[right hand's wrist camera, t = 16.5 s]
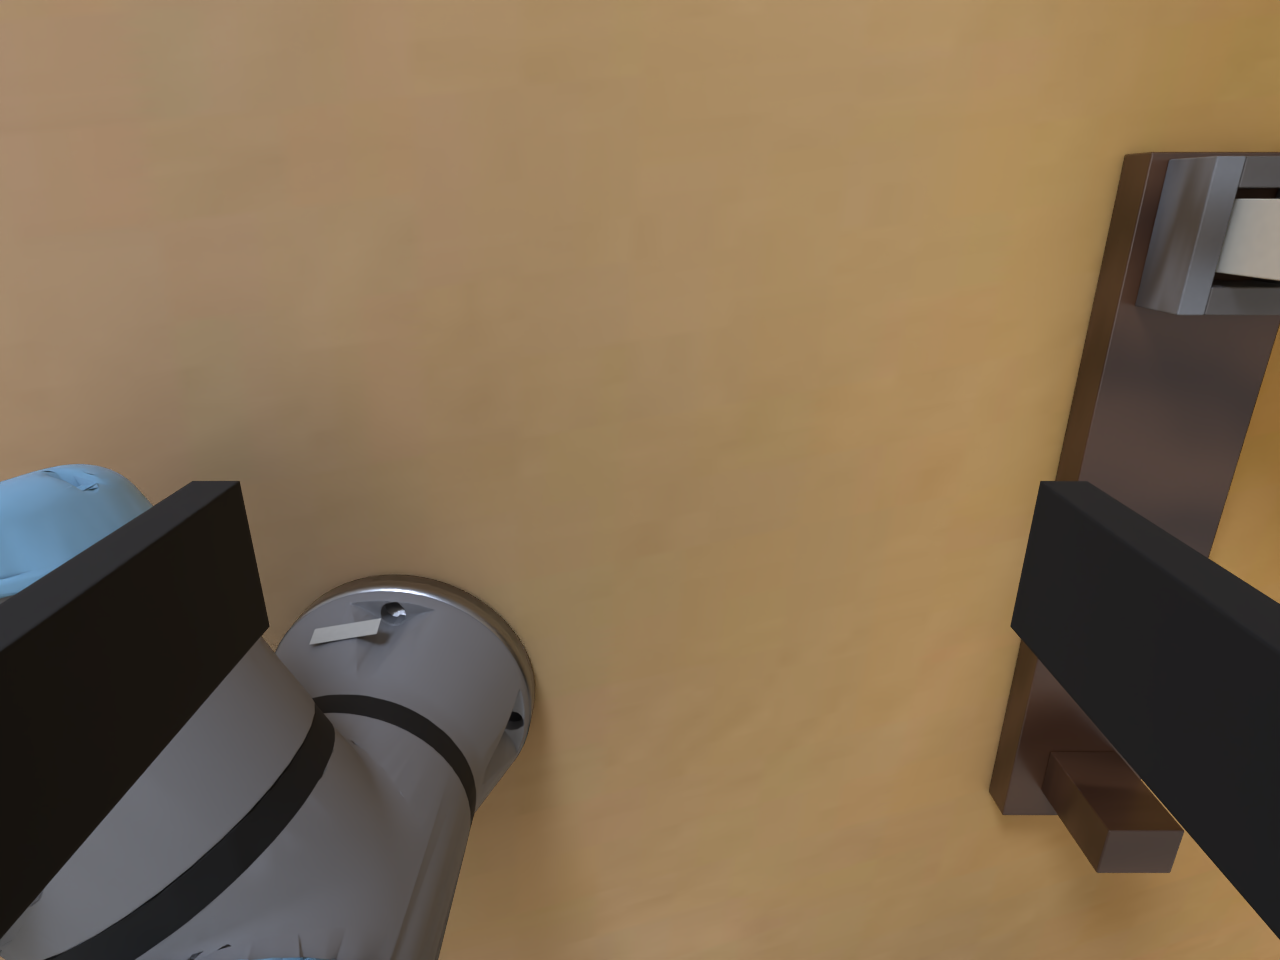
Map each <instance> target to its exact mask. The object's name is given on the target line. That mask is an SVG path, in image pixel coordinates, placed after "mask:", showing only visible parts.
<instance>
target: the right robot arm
mask: <svg viewBox="0 0 1280 960" xmlns="http://www.w3.org/2000/svg"><path fill="white" fill-rule="evenodd" d="M268 628H269V621H268V617H267V612H266V607H265V602H264V597H263V592H262V588H261V583H260V578H259V573H258V568H257V563H256V559H255V554H254V549H253V544H252V539H251V534H250V530H249V525H248V520H247V515H246V510H245V505H244V501H243V496H242V491H241V486H240V481H192V482H191V483H189V484H187V485H186V486H184V487H183V488H181V489H180V490H178V491H177V492H175V493H173V494H172V495H170V496H169V497H167V498H166V499H164V500H162V501H161V502H159V503H158V504H156V505H155V506H153V505H152V504H151V503H150V502H149V501H148V500H147V499H146V498H145V496H144V495H143V494H142V493H141V492H140V491H139V490H138V489H137V487H136V486H135V485H134V484H132V483H131V482H130V481H129V480H128V479H127V478H125V477H124V476H122V475H121V474H119V473H117V472H115V471H112V470H110V469H107V468H104V467H100V466H95V465H87V464H72V465H61V466H56V467H51V468H46V469H42V470H38V471H34V472H31V473H28V474H24V475H21V476H18V477H14V478H11V479H8V480H5V481H2V482H0V956H1V957H3V958H4V959H5V960H438V958H439V954H440V950H441V946H442V942H443V938H444V933H445V929H446V925H447V921H448V917H449V913H450V909H451V905H452V901H453V897H454V893H455V889H456V885H457V881H458V877H459V873H460V869H461V865H462V861H463V857H464V852H465V848H466V844H467V840H468V836H469V831H470V828H471V824H472V820H473V817H474V813H475V812H476V811H477V809H478V808H479V807H480V805H481V804H482V803H483V801H484V800H485V799H486V797H487V796H488V795H489V793H490V792H491V791H492V789H493V788H494V787H495V786H496V784H497V783H498V782H499V780H500V779H501V778H502V776H503V775H504V774H505V772H506V771H507V770H508V768H509V767H510V766H511V764H512V763H513V762H514V760H515V759H516V757H517V756H518V754H519V753H520V751H521V749H522V747H523V745H524V743H525V740H526V737H527V734H528V730H529V726H530V721H531V717H532V712H533V707H534V699H535V683H534V676H533V671H532V667H531V664H530V661H529V658H528V656H527V653H526V651H525V649H524V647H523V645H522V643H521V642H520V640H519V639H518V637H517V636H516V634H515V633H514V631H513V630H512V629H511V628H510V626H509V625H508V624H507V623H506V622H505V621H504V620H503V619H502V618H501V617H500V616H499V615H498V614H497V613H496V612H495V611H494V610H492V609H491V608H490V607H489V606H487V605H486V604H485V603H483V602H482V601H480V600H479V599H477V598H475V597H474V596H472V595H470V594H469V593H467V592H465V591H463V590H460V589H458V588H456V587H454V586H451V585H448V584H446V583H443V582H439V581H436V580H433V579H428V578H423V577H417V576H409V575H380V576H373V577H366V578H362V579H358V580H354V581H351V582H349V583H346V584H343V585H341V586H339V587H336V588H334V589H332V590H331V591H329V592H327V593H326V594H324V595H322V596H321V597H320V598H318V599H317V600H316V601H314V602H313V603H312V604H311V605H310V606H309V607H308V608H307V609H306V610H305V611H304V612H303V613H302V615H301V616H300V617H299V618H298V619H297V621H296V622H295V623H294V624H293V626H292V627H291V628H290V629H289V630H288V632H287V633H286V634H285V636H284V637H283V639H282V640H281V642H280V643H279V646H278V648H277V650H276V652H275V653H274V651H273V650H272V649H271V648H270V646H269V645H268V644H267V643H266V641H265V640H264V639H263V638H262V635H263V633H264V632H265V631H266V630H267V629H268ZM1011 628H1012V629H1013V630H1014V631H1015V632H1016V633H1017V635H1018V636H1019V637H1020V638H1021V639H1022V640H1023V642H1024V643H1025V644H1026V645H1027V646H1028V647H1029V649H1030V650H1031V651H1032V652H1033V653H1034V654H1035V656H1036V657H1037V658H1038V659H1039V660H1040V661H1041V662H1042V664H1043V665H1044V666H1045V667H1046V668H1047V669H1048V671H1049V672H1050V673H1051V674H1052V675H1053V676H1054V678H1055V679H1056V680H1057V681H1058V682H1059V683H1060V685H1061V686H1062V687H1063V688H1064V689H1065V690H1066V692H1067V693H1068V694H1069V695H1070V696H1071V697H1072V699H1073V700H1074V701H1075V702H1076V703H1077V704H1078V706H1079V707H1080V708H1081V709H1082V710H1083V711H1084V712H1085V714H1086V715H1087V716H1088V717H1089V718H1090V719H1091V721H1092V722H1093V723H1094V724H1095V725H1096V726H1097V728H1098V729H1099V730H1100V731H1101V732H1102V733H1103V735H1104V736H1105V737H1106V738H1107V739H1108V740H1109V742H1110V743H1111V744H1112V745H1113V746H1114V747H1115V749H1116V750H1117V751H1118V752H1119V753H1120V754H1121V756H1122V757H1123V758H1124V759H1125V760H1126V761H1127V763H1128V764H1129V765H1130V766H1131V767H1132V768H1133V769H1134V771H1135V772H1136V773H1137V774H1138V775H1139V776H1140V778H1141V779H1142V780H1143V781H1144V782H1145V783H1146V785H1147V786H1148V787H1149V788H1150V789H1151V790H1152V792H1153V793H1154V794H1155V795H1156V796H1157V797H1158V799H1159V800H1160V801H1161V802H1162V803H1163V804H1164V806H1165V807H1166V808H1167V809H1168V810H1169V811H1170V813H1171V814H1172V815H1173V816H1174V817H1175V818H1176V820H1177V821H1178V822H1179V823H1180V824H1181V825H1182V826H1183V828H1184V829H1185V830H1186V831H1187V832H1188V833H1189V835H1190V836H1191V837H1192V838H1193V839H1194V840H1195V842H1196V843H1197V844H1198V845H1199V846H1200V847H1201V849H1202V850H1203V851H1204V852H1205V853H1206V854H1207V856H1208V857H1209V858H1210V859H1211V860H1212V861H1213V863H1214V864H1215V865H1216V866H1217V867H1218V868H1219V870H1220V871H1221V872H1222V873H1223V874H1224V875H1225V876H1226V878H1227V879H1228V880H1229V881H1230V882H1231V883H1232V885H1233V886H1234V887H1235V888H1236V889H1237V890H1238V892H1239V893H1240V894H1241V895H1242V896H1243V897H1244V899H1245V900H1246V901H1247V902H1248V903H1249V904H1250V906H1251V907H1252V908H1253V909H1254V910H1255V911H1256V913H1257V914H1258V915H1259V916H1260V917H1261V918H1262V920H1263V921H1264V922H1265V923H1266V924H1267V925H1268V927H1269V928H1270V929H1271V930H1272V931H1273V932H1274V933H1275V935H1276V936H1277V937H1278V938H1279V939H1280V604H1279V603H1277V602H1276V601H1274V600H1273V599H1271V598H1269V597H1268V596H1266V595H1265V594H1263V593H1262V592H1260V591H1258V590H1257V589H1255V588H1254V587H1252V586H1251V585H1249V584H1248V583H1246V582H1244V581H1243V580H1241V579H1240V578H1238V577H1237V576H1235V575H1233V574H1232V573H1230V572H1229V571H1227V570H1226V569H1224V568H1222V567H1221V566H1219V565H1218V564H1216V563H1215V562H1213V561H1212V560H1210V559H1208V558H1207V557H1205V556H1204V555H1202V554H1201V553H1199V552H1197V551H1196V550H1194V549H1193V548H1191V547H1190V546H1188V545H1186V544H1185V543H1183V542H1182V541H1180V540H1179V539H1177V538H1176V537H1174V536H1172V535H1171V534H1169V533H1168V532H1166V531H1165V530H1163V529H1161V528H1160V527H1158V526H1157V525H1155V524H1154V523H1152V522H1150V521H1149V520H1147V519H1146V518H1144V517H1143V516H1141V515H1139V514H1138V513H1136V512H1135V511H1133V510H1132V509H1130V508H1129V507H1127V506H1125V505H1124V504H1122V503H1121V502H1119V501H1118V500H1116V499H1114V498H1113V497H1111V496H1110V495H1108V494H1107V493H1105V492H1103V491H1102V490H1100V489H1099V488H1097V487H1096V486H1094V485H1093V484H1091V483H1089V482H1088V481H1040V486H1039V491H1038V496H1037V501H1036V505H1035V510H1034V515H1033V520H1032V525H1031V530H1030V534H1029V539H1028V544H1027V549H1026V554H1025V559H1024V563H1023V568H1022V573H1021V578H1020V583H1019V588H1018V592H1017V597H1016V602H1015V607H1014V612H1013V617H1012V621H1011Z"/></svg>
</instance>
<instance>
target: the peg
mask: <svg viewBox="0 0 1280 960" xmlns="http://www.w3.org/2000/svg"><path fill="white" fill-rule="evenodd" d="M1215 272H1217V273H1225V274H1232V275H1240V276H1247V277H1255V278H1263V279H1270V280H1278V281H1280V199H1235V200H1234V204H1233V208H1232V211H1231V215H1230V219H1229V222H1228V226H1227V230H1226V234H1225V237H1224V241H1223V245H1222V249H1221V252H1220V256H1219V260H1218V264H1217V267H1216V271H1215Z"/></svg>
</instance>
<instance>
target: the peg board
mask: <svg viewBox="0 0 1280 960" xmlns="http://www.w3.org/2000/svg"><path fill="white" fill-rule="evenodd" d="M1235 199H1280V152H1148V153H1136V154H1127V155H1125V159H1124V164H1123V168H1122V173H1121V178H1120V182H1119V187H1118V192H1117V196H1116V201H1115V206H1114V210H1113V215H1112V220H1111V224H1110V229H1109V234H1108V238H1107V243H1106V248H1105V252H1104V257H1103V262H1102V266H1101V271H1100V276H1099V280H1098V285H1097V290H1096V294H1095V299H1094V304H1093V308H1092V313H1091V318H1090V322H1089V327H1088V332H1087V336H1086V341H1085V346H1084V350H1083V355H1082V360H1081V364H1080V369H1079V374H1078V379H1077V383H1076V388H1075V393H1074V397H1073V402H1072V407H1071V411H1070V416H1069V421H1068V425H1067V430H1066V435H1065V439H1064V444H1063V449H1062V453H1061V458H1060V463H1059V467H1058V472H1057V477H1056V481H1088V482H1089V483H1091V484H1093V485H1094V486H1096V487H1097V488H1099V489H1100V490H1102V491H1103V492H1105V493H1107V494H1108V495H1110V496H1111V497H1113V498H1114V499H1116V500H1118V501H1119V502H1121V503H1122V504H1124V505H1125V506H1127V507H1129V508H1130V509H1132V510H1133V511H1135V512H1136V513H1138V514H1139V515H1141V516H1143V517H1144V518H1146V519H1147V520H1149V521H1150V522H1152V523H1154V524H1155V525H1157V526H1158V527H1160V528H1161V529H1163V530H1165V531H1166V532H1168V533H1169V534H1171V535H1172V536H1174V537H1176V538H1177V539H1179V540H1180V541H1182V542H1183V543H1185V544H1186V545H1188V546H1190V547H1191V548H1193V549H1194V550H1196V551H1197V552H1199V553H1201V554H1202V555H1204V556H1205V557H1207V558H1209V554H1210V551H1211V548H1212V544H1213V541H1214V538H1215V535H1216V531H1217V528H1218V525H1219V521H1220V518H1221V515H1222V512H1223V508H1224V505H1225V502H1226V499H1227V495H1228V492H1229V489H1230V485H1231V482H1232V479H1233V476H1234V472H1235V469H1236V466H1237V462H1238V459H1239V456H1240V453H1241V449H1242V446H1243V443H1244V439H1245V436H1246V433H1247V430H1248V426H1249V423H1250V420H1251V416H1252V413H1253V410H1254V407H1255V403H1256V400H1257V397H1258V394H1259V390H1260V387H1261V384H1262V380H1263V377H1264V374H1265V371H1266V367H1267V364H1268V361H1269V357H1270V354H1271V351H1272V348H1273V344H1274V341H1275V338H1276V334H1277V331H1278V328H1279V325H1280V281H1278V280H1270V279H1263V278H1255V277H1247V276H1240V275H1232V274H1225V273H1217V272H1215V271H1216V267H1217V264H1218V260H1219V256H1220V252H1221V249H1222V245H1223V241H1224V237H1225V234H1226V230H1227V226H1228V222H1229V219H1230V215H1231V211H1232V208H1233V204H1234V200H1235ZM989 792H990V794H991V796H992V797H993V799H994V801H995V803H996V804H997V806H998V808H999V809H1000V811H1001V813H1002V814H1003V815H1058V816H1059V817H1060V819H1061V820H1062V822H1063V823H1064V825H1065V826H1066V828H1067V829H1068V831H1069V832H1070V834H1071V835H1072V837H1073V838H1074V840H1075V841H1076V843H1077V844H1078V845H1079V847H1080V848H1081V850H1082V851H1083V853H1084V854H1085V856H1086V857H1087V859H1088V860H1089V862H1090V863H1091V865H1092V866H1093V868H1094V869H1095V871H1096V872H1097V873H1170V871H1171V868H1172V866H1173V863H1174V860H1175V857H1176V854H1177V851H1178V848H1179V845H1180V842H1181V839H1182V836H1183V833H1184V830H1183V829H1182V828H1181V827H1180V825H1179V824H1178V823H1177V822H1176V821H1175V820H1174V818H1173V817H1172V816H1171V815H1170V814H1169V813H1168V811H1167V810H1166V809H1165V808H1164V807H1163V806H1162V804H1161V803H1160V802H1159V801H1158V800H1157V799H1156V797H1155V796H1154V795H1153V794H1152V793H1151V792H1150V790H1149V789H1148V788H1147V787H1146V786H1145V785H1144V783H1143V782H1142V781H1141V778H1140V776H1139V775H1138V774H1137V773H1136V772H1135V771H1134V769H1133V768H1132V767H1131V766H1130V765H1129V764H1128V763H1127V761H1126V760H1125V759H1124V758H1123V757H1122V756H1121V754H1120V753H1119V752H1118V751H1117V750H1116V749H1115V747H1114V746H1113V745H1112V744H1111V743H1110V742H1109V740H1108V739H1107V738H1106V737H1105V736H1104V735H1103V733H1102V732H1101V731H1100V730H1099V729H1098V728H1097V726H1096V725H1095V724H1094V723H1093V722H1092V721H1091V719H1090V718H1089V717H1088V716H1087V715H1086V714H1085V712H1084V711H1083V710H1082V709H1081V708H1080V707H1079V706H1078V704H1077V703H1076V702H1075V701H1074V700H1073V699H1072V697H1071V696H1070V695H1069V694H1068V693H1067V692H1066V690H1065V689H1064V688H1063V687H1062V686H1061V685H1060V683H1059V682H1058V681H1057V680H1056V679H1055V678H1054V676H1053V675H1052V674H1051V673H1050V672H1049V671H1048V669H1047V668H1046V667H1045V666H1044V665H1043V664H1042V662H1041V661H1040V660H1039V659H1038V658H1037V657H1036V656H1035V654H1034V653H1033V652H1032V651H1031V650H1030V649H1029V647H1028V646H1027V645H1026V644H1025V643H1024V642H1023V640H1021V645H1020V649H1019V654H1018V659H1017V663H1016V668H1015V673H1014V677H1013V682H1012V687H1011V691H1010V696H1009V701H1008V706H1007V710H1006V715H1005V720H1004V724H1003V729H1002V734H1001V738H1000V743H999V748H998V752H997V757H996V762H995V766H994V771H993V776H992V780H991V785H990V790H989Z"/></svg>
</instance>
